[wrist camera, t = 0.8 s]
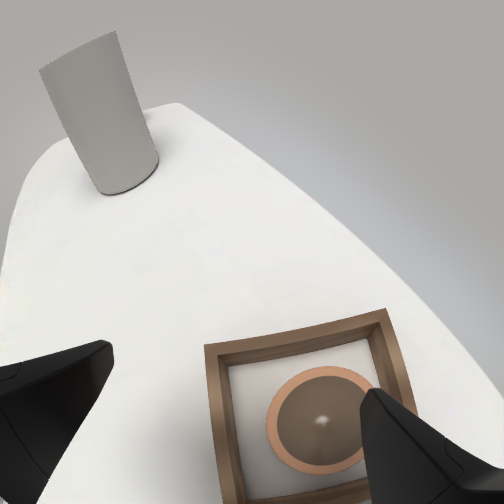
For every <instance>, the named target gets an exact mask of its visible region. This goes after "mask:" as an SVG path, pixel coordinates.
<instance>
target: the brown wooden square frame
mask: <svg viewBox="0 0 504 504" xmlns="http://www.w3.org/2000/svg"><path fill="white" fill-rule="evenodd" d="M364 338H367V340H368V343H369V346H370V350H371V353H372V357H373V360H374V364H375V367H376V371H377V374H378V378H379V382H380V386H381V389H382V390H383V391H385V392H386V393H387V394H388V395H390V396H391V397H392V398H394V399H395V400H396V401H398V402H399V403H400V404H402V405H403V406H404V407H406V408H407V409H408V410H410V411H411V412H412V413H414V414H415V415H416V416H418V413H417V408H416V404H415V400H414V396H413V392H412V388H411V385H410V381H409V377H408V374H407V370H406V367H405V364H404V360H403V357H402V354H401V351H400V347H399V344H398V341H397V338H396V335H395V332H394V329H393V326H392V324H391V321H390V318H389V315H388V312H387V310H386V308H383V309H380V310H376V311H373V312H369V313H365V314H361V315H357V316H353V317H349V318H345V319H341V320H337V321H333V322H329V323H324V324H320V325H315V326H311V327H306V328H301V329H296V330H291V331H286V332H281V333H276V334H270V335H265V336H259V337H253V338H247V339H241V340H234V341H227V342H220V343H213V344H205V345H204V352H205V365H206V376H207V387H208V397H209V406H210V415H211V424H212V432H213V440H214V447H215V454H216V461H217V468H218V475H219V481H220V487H221V493H222V499H223V504H358V503H361V502H364V501H367V500H370V499H371V495H370V488H369V482H368V477H365V478H362V479H358V480H355V481H352V482H349V483H345V484H341V485H338V486H334V487H330V488H326V489H322V490H317V491H313V492H308V493H303V494H297V495H291V496H285V497H278V498H270V499H261V500H249V501H247V498H246V492H245V487H244V481H243V475H242V468H241V462H240V456H239V449H238V442H237V435H236V428H235V421H234V414H233V406H232V399H231V391H230V382H229V374H228V366H234V365H241V364H248V363H255V362H261V361H267V360H272V359H278V358H283V357H288V356H293V355H298V354H303V353H308V352H312V351H317V350H321V349H325V348H330V347H334V346H338V345H342V344H346V343H349V342H353V341H357V340H361V339H364Z"/></svg>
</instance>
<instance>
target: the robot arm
mask: <svg viewBox="0 0 504 504" xmlns="http://www.w3.org/2000/svg"><path fill="white" fill-rule="evenodd" d="M113 366H114V355H113V347H112V344H111V343H110V342H107V341H105V340H98V341H95V342H91V343H88V344H84V345H81V346H78V347H74V348H71V349H67V350H64V351H60V352H56V353H53V354H49V355H46V356H42V357H38V358H34V359H31V360H27V361H23V363H22V362H19V363H15V364H11V365H7V366H2V367H0V504H3V502H4V501H6V502H7V503H8V504H36V503H37V501H38V499H39V497H40V495H41V494H42V492H43V490H44V488H45V486H46V484H47V482H48V481H49V480H48V479H50V477H51V475H52V473H53V471H54V470H55V468H56V466H57V464H58V463H59V461H60V459H61V457H62V456H63V454H64V452H65V451H66V449H67V447H68V446H69V444H70V442H71V441H72V439H73V437H74V436H75V434H76V432H77V431H78V429H79V427H80V426H81V424H82V423H83V421H84V419H85V418H86V416H87V415H88V413H89V411H90V410H91V408H92V407H93V405H94V404H95V402H96V400H97V399H98V397H99V395H100V393H101V391H102V389H103V387H104V385H105V383H106V381H107V379H108V377H109V375H110V373H111V371H112V369H113ZM359 411H360V423H361V437H362V447H363V453H364V458H365V464H366V470H367V476H368V482H369V488H370V495H371V502H372V504H504V469H500V468H496V467H494V466H492V465H490V464H488V463H486V462H484V461H483V460H481V459H479V458H477V457H475V456H474V455H472V454H470V453H469V452H467V451H465V450H464V449H462V448H460V447H459V446H457V445H456V444H454V443H453V442H452V441H450V440H449V439H448V438H445V436H443V435H442V434H441V433H439V432H438V431H436V430H435V429H434V428H432V427H431V426H430V425H428V424H427V423H426V422H424V421H423V420H422V419H420V418H419V417H418V416H416V415H415V414H414V413H412V412H411V411H410V410H408V409H407V408H406V407H404V406H403V405H402V404H400V403H399V402H398V401H396V400H395V399H394V398H392V397H391V396H390V395H388V394H387V393H386V392H385V391H383V390H382V389H381V388H370V389H369V390H368V391H367V393H366V395H365V397H364V399H363V401H362V403H361V405H360V410H359Z"/></svg>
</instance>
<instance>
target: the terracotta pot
mask: <svg viewBox="0 0 504 504" xmlns="http://www.w3.org/2000/svg"><path fill="white" fill-rule="evenodd" d="M370 388H373V386H372V385H371V384H370V383H369V382H368V381H367V380H366V379H365V378H364V377H362V376H361V375H359V374H358V373H356V372H353V371H351V370H348V369H345V368H341V367H333V366H326V367H318V368H313V369H310V370H307V371H304V372H302V373H300V374H298V375H296V376H294V377H293V378H292V379H290V380H289V381H288V382H287V383H286V384H284V385H283V386H282V387H281V389H280V390H279V391H278V392H277V394H276V395H275V397H274V398H273V400H272V402H271V404H270V407H269V410H268V414H267V420H266V429H267V436H268V440H269V442H270V445H271V447H272V449H273V450H274V452H275V453H276V455H277V456H278V457H279V458H280V459H281V460H282V461H283V462H284V463H285V464H287V465H288V466H290V467H291V468H293V469H295V470H297V471H300V472H303V473H308V474H314V475H325V474H332V473H337V472H340V471H343V470H345V469H347V468H349V467H351V466H353V465H355V464H356V463H358V462H359V461H360V460H361V459H363V458H364V453H363V447H362V437H361V423H360V411H359V410H360V405H361V403H362V401H363V399H364V397H365V395H366V393H367V391H368V390H369V389H370Z"/></svg>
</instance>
